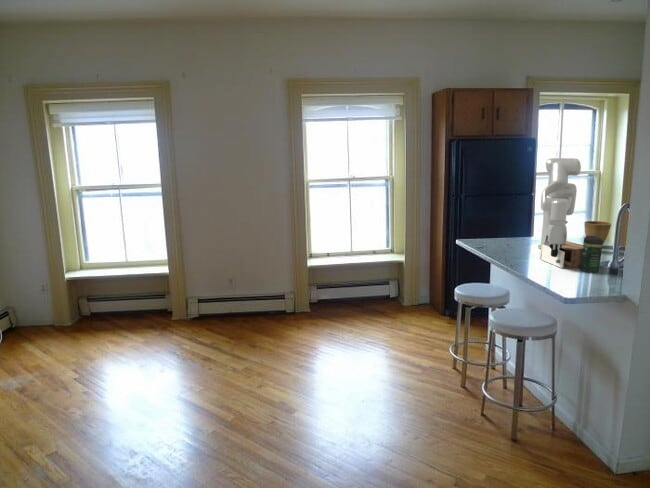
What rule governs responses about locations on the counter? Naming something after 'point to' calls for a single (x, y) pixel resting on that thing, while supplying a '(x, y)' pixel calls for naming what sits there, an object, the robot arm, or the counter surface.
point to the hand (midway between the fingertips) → (553, 256)
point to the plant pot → (597, 229)
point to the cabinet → (572, 254)
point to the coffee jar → (591, 254)
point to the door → (548, 258)
